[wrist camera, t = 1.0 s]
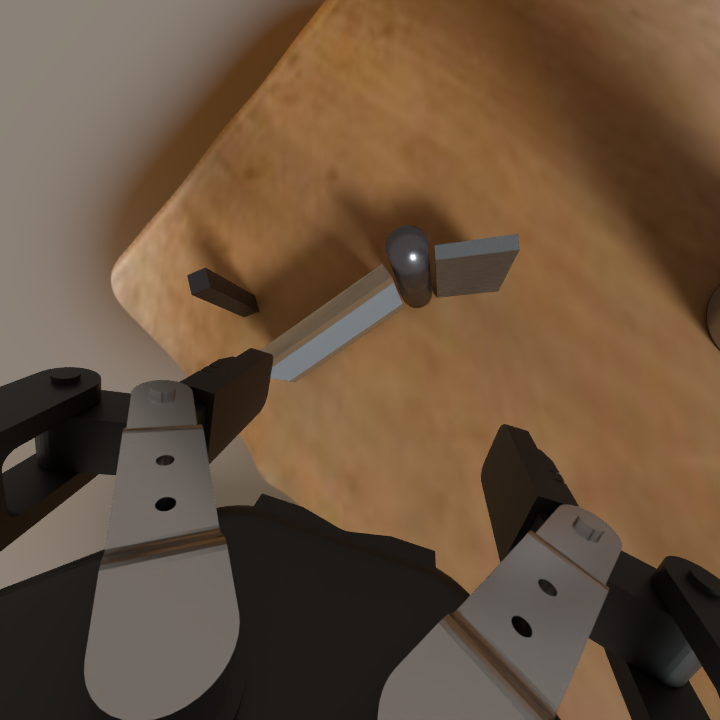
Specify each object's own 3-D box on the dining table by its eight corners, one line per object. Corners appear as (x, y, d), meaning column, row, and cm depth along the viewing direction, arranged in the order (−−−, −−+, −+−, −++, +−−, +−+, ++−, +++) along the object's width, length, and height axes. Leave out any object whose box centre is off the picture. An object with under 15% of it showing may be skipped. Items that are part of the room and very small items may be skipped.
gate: (396, 297, 37) (382, 263, 28) (404, 307, 36) (392, 277, 28) (288, 371, 39) (243, 362, 30) (295, 382, 38) (250, 376, 29)
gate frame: (497, 272, 36) (523, 210, 24) (498, 302, 35) (527, 252, 24) (240, 296, 42) (163, 255, 30) (239, 321, 42) (161, 289, 30)
